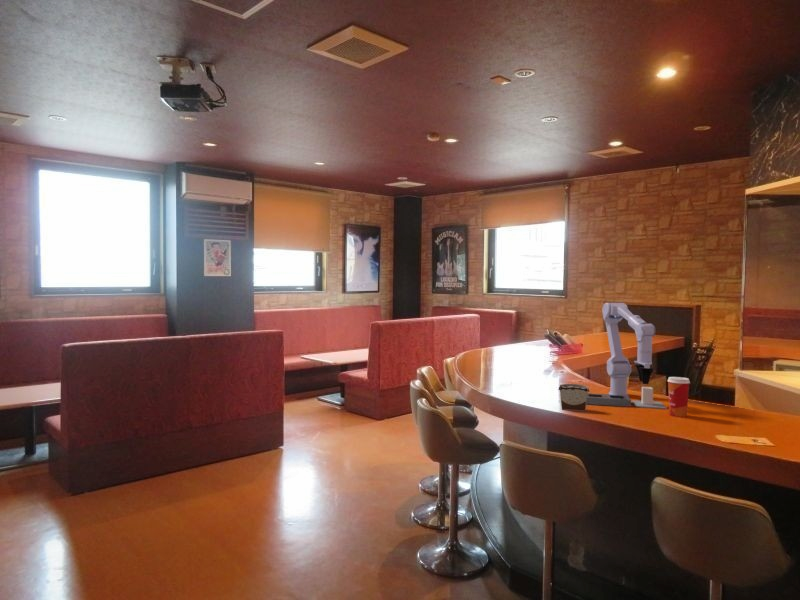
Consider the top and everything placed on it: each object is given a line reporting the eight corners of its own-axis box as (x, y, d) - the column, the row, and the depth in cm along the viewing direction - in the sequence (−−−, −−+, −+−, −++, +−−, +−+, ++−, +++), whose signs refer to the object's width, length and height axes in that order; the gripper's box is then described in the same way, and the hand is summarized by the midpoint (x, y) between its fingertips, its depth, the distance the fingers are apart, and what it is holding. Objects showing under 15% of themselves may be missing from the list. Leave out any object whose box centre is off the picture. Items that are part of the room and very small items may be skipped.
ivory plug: (641, 402, 238) (641, 386, 238) (651, 403, 237) (651, 387, 237) (642, 404, 234) (643, 388, 234) (652, 405, 233) (653, 388, 233)
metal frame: (580, 399, 246) (580, 392, 246) (627, 402, 241) (627, 395, 241) (581, 403, 237) (581, 397, 237) (630, 406, 231) (631, 399, 231)
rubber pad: (631, 401, 242) (631, 400, 242) (660, 403, 239) (660, 401, 239) (635, 407, 231) (635, 405, 231) (666, 409, 228) (666, 407, 228)
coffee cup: (667, 412, 222) (668, 375, 222) (690, 414, 218) (690, 377, 218) (665, 416, 215) (666, 378, 215) (689, 419, 211) (689, 380, 211)
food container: (588, 408, 228) (588, 384, 228) (589, 411, 223) (589, 387, 222) (557, 406, 232) (558, 383, 232) (558, 409, 226) (558, 385, 226)
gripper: (632, 349, 245) (631, 379, 245) (637, 353, 231) (636, 384, 231) (649, 349, 243) (648, 379, 243) (655, 353, 229) (654, 385, 229)
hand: (643, 382), depth 237 cm, fingers open, 7 cm apart
